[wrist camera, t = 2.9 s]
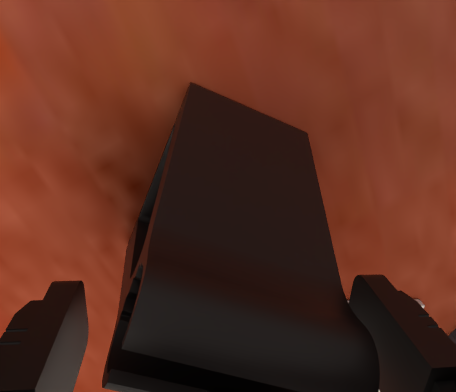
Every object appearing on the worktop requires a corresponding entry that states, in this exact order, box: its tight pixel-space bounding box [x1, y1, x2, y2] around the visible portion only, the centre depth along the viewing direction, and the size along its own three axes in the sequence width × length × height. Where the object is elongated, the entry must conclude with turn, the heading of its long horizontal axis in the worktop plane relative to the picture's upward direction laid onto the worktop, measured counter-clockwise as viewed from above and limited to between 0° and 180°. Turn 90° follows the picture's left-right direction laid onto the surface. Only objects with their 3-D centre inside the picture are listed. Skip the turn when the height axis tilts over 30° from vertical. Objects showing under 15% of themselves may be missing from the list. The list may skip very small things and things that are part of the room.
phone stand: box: [102, 83, 380, 392], centre depth 14 cm, size 9×6×12 cm, turn 156°
